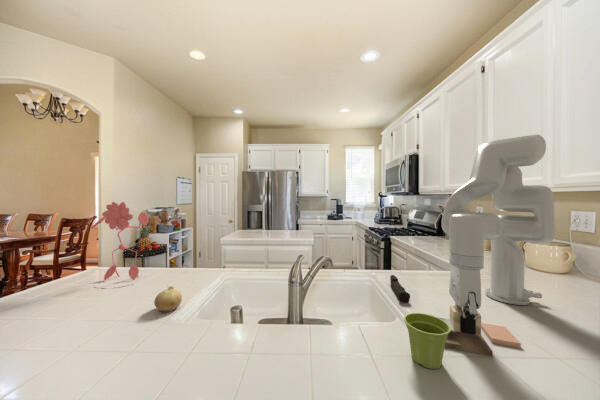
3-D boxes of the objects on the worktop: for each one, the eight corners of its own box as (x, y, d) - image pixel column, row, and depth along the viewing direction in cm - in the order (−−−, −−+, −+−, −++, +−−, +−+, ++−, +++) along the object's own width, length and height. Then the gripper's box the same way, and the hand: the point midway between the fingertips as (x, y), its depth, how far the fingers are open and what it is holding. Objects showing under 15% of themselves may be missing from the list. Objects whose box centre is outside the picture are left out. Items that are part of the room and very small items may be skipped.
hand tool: (410, 304, 82) (410, 291, 82) (398, 302, 82) (398, 290, 82) (398, 284, 100) (398, 274, 100) (388, 284, 101) (388, 273, 101)
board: (474, 329, 66) (474, 325, 66) (492, 356, 54) (492, 351, 54) (419, 319, 70) (419, 316, 70) (425, 342, 59) (426, 338, 59)
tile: (505, 326, 65) (520, 343, 58) (505, 332, 65) (520, 349, 58) (479, 322, 67) (491, 338, 60) (479, 328, 67) (491, 344, 60)
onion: (185, 308, 76) (185, 287, 76) (158, 317, 71) (158, 294, 70) (176, 301, 82) (177, 281, 82) (151, 309, 76) (151, 287, 76)
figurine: (102, 275, 107) (101, 201, 106) (156, 276, 107) (156, 201, 106) (69, 289, 92) (67, 202, 91) (132, 290, 92) (131, 203, 91)
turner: (474, 325, 63) (474, 307, 63) (482, 337, 58) (482, 317, 57) (421, 316, 68) (422, 299, 68) (425, 327, 62) (425, 308, 62)
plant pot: (397, 346, 58) (397, 311, 58) (435, 347, 58) (435, 312, 58) (414, 374, 49) (415, 333, 48) (460, 376, 48) (460, 335, 48)
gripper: (442, 252, 70) (441, 311, 71) (458, 267, 55) (457, 343, 55) (471, 254, 68) (470, 315, 68) (497, 271, 52) (496, 351, 52)
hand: (464, 327), depth 61 cm, fingers closed on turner, 4 cm apart
